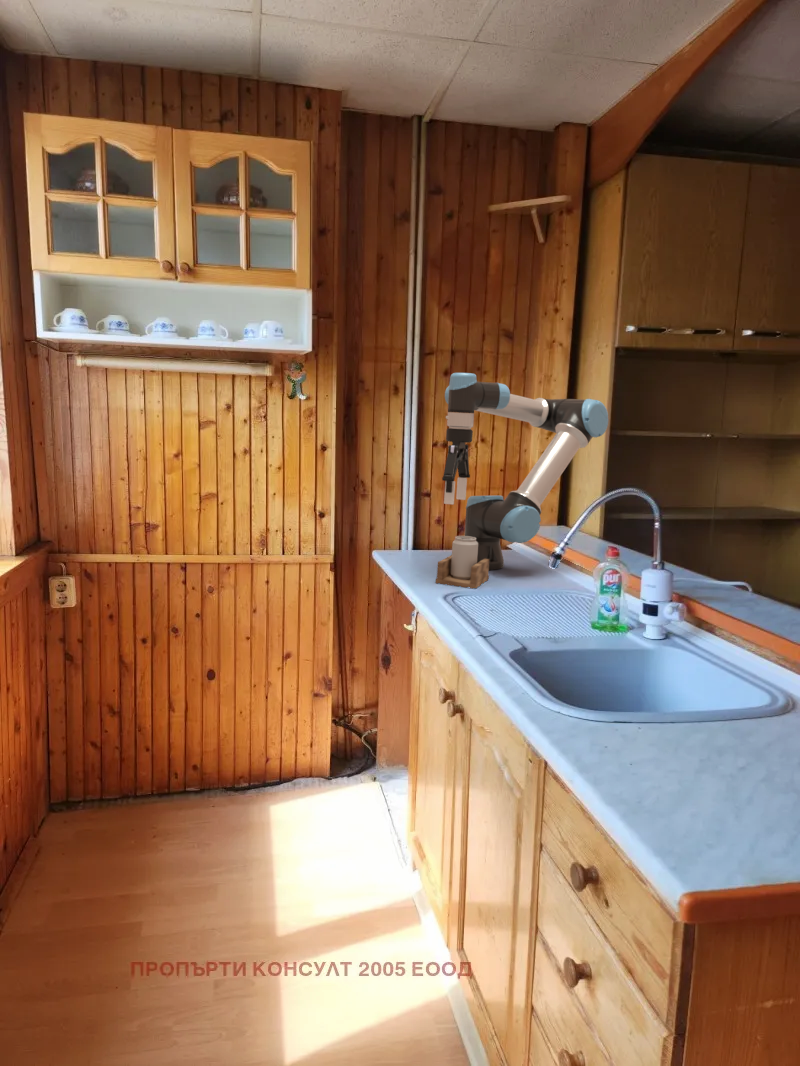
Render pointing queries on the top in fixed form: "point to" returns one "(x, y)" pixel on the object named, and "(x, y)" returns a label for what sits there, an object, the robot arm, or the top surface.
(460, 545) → the can
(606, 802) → the top surface
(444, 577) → the rack
